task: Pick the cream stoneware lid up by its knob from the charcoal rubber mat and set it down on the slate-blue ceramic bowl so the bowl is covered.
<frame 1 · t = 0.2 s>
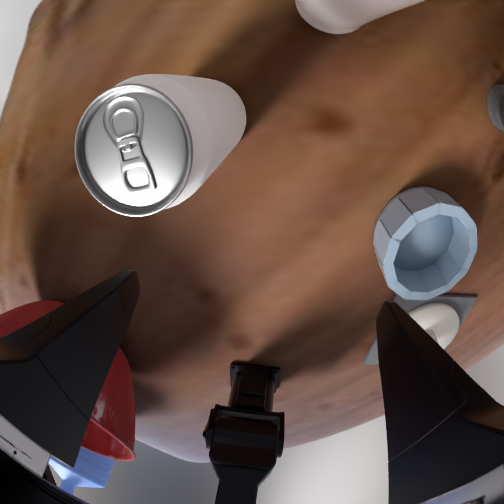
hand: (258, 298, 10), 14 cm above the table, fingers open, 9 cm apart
can: (206, 118, 20), on the table
water jug: (102, 400, 53), on the table
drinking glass: (330, 6, 14), on the table
beverage cup: (501, 107, 15), on the table
mat: (420, 331, 29), on the table
lid: (421, 334, 29), resting on mat
mixing bowl: (85, 334, 38), on the table
bowl: (417, 232, 23), on the table
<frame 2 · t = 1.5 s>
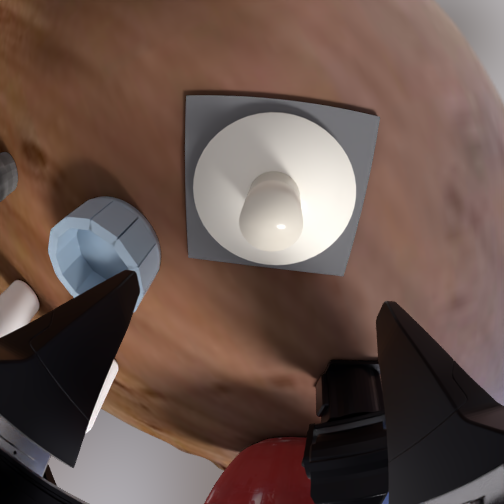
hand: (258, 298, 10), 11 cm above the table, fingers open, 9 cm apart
can: (100, 355, 33), on the table
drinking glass: (28, 292, 29), on the table
beverage cup: (7, 171, 20), on the table
mat: (274, 189, 18), on the table
lid: (274, 191, 18), resting on mat
mixing bowl: (290, 446, 43), on the table
bowl: (114, 244, 22), on the table
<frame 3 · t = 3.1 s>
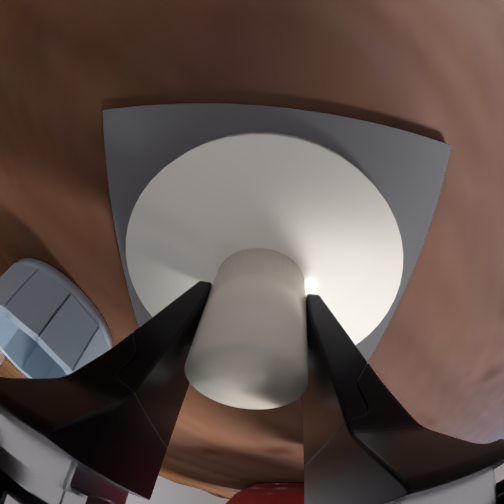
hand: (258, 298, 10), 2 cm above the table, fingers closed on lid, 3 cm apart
mat: (262, 267, 11), on the table
lid: (261, 273, 11), resting on mat, touching gripper
mixing bowl: (288, 487, 36), on the table
bowl: (57, 315, 15), on the table
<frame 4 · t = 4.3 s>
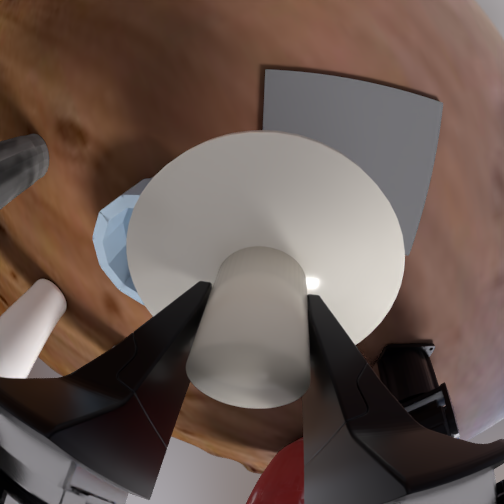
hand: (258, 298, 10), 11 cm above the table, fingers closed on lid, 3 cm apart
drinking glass: (53, 292, 29), on the table
beverage cup: (35, 155, 19), on the table
mat: (351, 168, 17), on the table
lid: (263, 272, 11), point 10 cm above the table, touching gripper
mixing bowl: (328, 442, 42), on the table
bowl: (168, 230, 22), on the table
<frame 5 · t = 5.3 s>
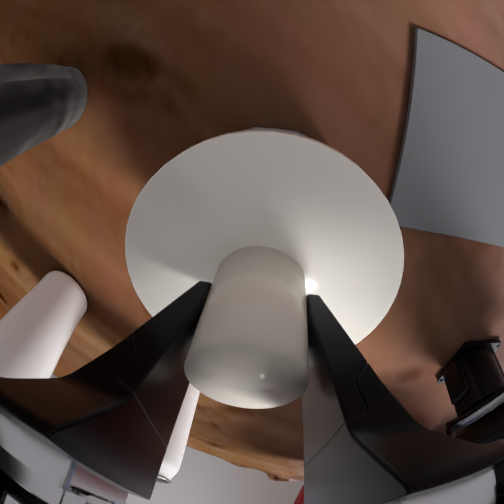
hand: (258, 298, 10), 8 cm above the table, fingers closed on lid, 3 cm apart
can: (173, 369, 27), on the table
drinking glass: (69, 289, 23), on the table
beverage cup: (65, 97, 13), on the table
mat: (481, 151, 12), on the table
lid: (261, 271, 11), point 7 cm above the table, touching gripper
when the fingers open (6 cm above the table, at t = 5.8 s): lid drops 1 cm, resting on bowl.
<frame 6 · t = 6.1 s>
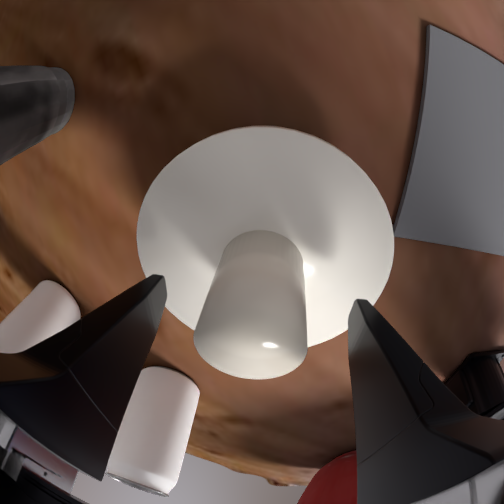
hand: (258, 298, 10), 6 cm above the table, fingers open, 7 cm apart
can: (170, 380, 26), on the table
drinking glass: (62, 299, 22), on the table
beverage cup: (52, 100, 12), on the table
mat: (494, 159, 11), on the table
lid: (263, 255, 12), point 4 cm above the table, touching bowl
mixing bowl: (368, 455, 36), on the table
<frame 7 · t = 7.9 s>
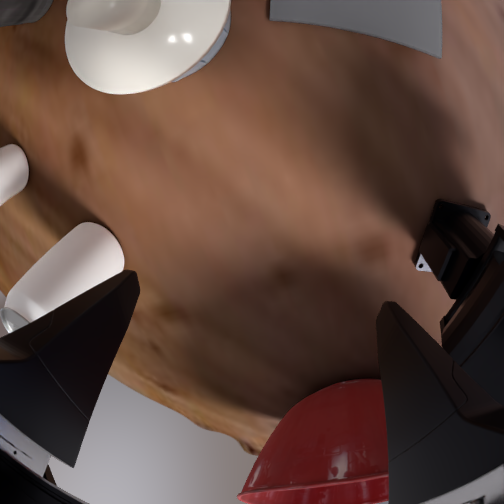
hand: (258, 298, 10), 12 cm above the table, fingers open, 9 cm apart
can: (99, 248, 25), on the table
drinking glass: (18, 165, 20), on the table
beverage cup: (40, 2, 11), on the table
lid: (140, 13, 10), point 4 cm above the table, touching bowl
mixing bowl: (349, 401, 35), on the table
bowl: (166, 25, 14), on the table
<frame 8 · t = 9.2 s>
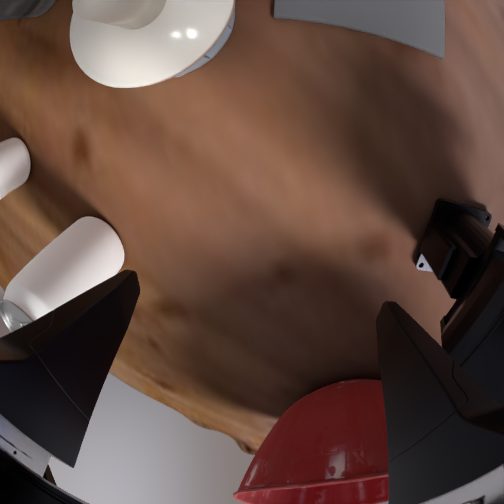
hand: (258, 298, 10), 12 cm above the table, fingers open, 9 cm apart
can: (99, 243, 25), on the table
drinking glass: (19, 159, 20), on the table
lid: (145, 8, 10), point 4 cm above the table, touching bowl
mixing bowl: (347, 401, 35), on the table
bowl: (171, 21, 14), on the table
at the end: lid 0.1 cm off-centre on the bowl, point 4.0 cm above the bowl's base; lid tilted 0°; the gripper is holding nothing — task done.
